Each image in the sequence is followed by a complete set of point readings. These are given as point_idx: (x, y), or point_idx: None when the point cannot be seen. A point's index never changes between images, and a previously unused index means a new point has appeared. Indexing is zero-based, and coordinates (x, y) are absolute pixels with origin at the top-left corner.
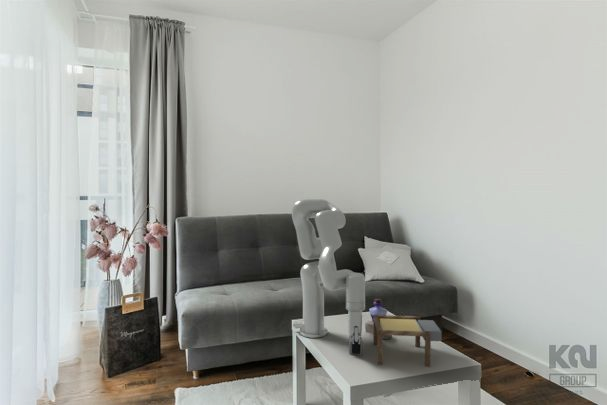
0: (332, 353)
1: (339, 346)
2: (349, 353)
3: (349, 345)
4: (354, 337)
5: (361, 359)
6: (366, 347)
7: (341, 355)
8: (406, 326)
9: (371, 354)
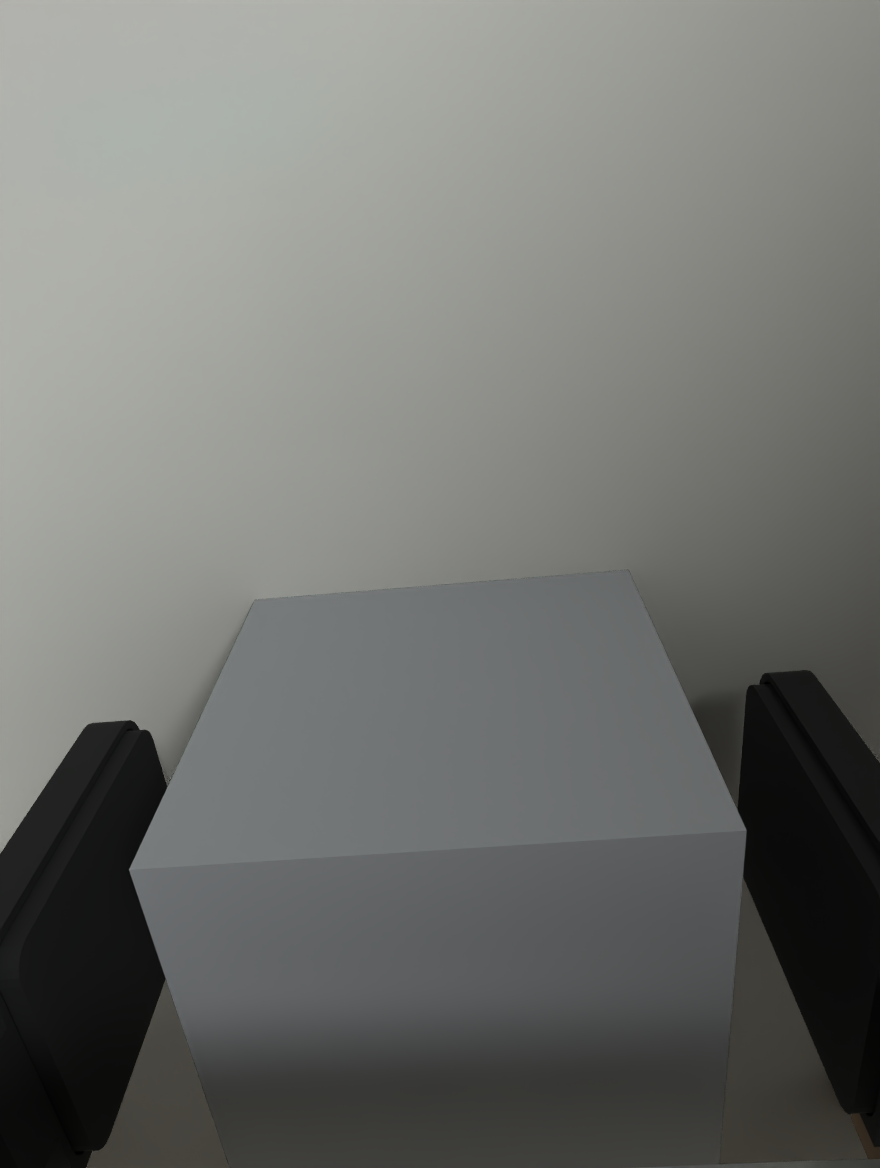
0: (126, 28)
1: (792, 245)
2: (253, 612)
3: (181, 760)
4: (645, 1020)
5: None
6: (737, 945)
7: (81, 385)
8: None
9: None
